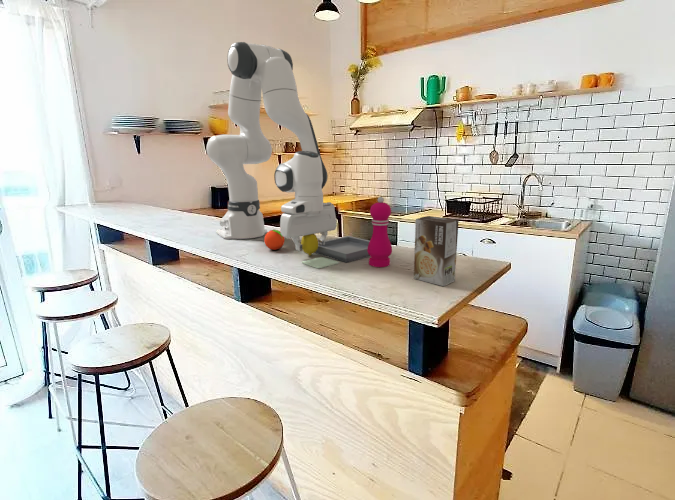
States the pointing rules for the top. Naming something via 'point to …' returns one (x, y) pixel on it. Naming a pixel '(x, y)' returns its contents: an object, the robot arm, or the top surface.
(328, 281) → the top surface
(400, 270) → the top surface
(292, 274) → the top surface
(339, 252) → the slate tray
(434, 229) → the coffee box
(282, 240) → the clementine
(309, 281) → the top surface
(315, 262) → the green mat
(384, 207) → the pepper mill
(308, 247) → the lemon
